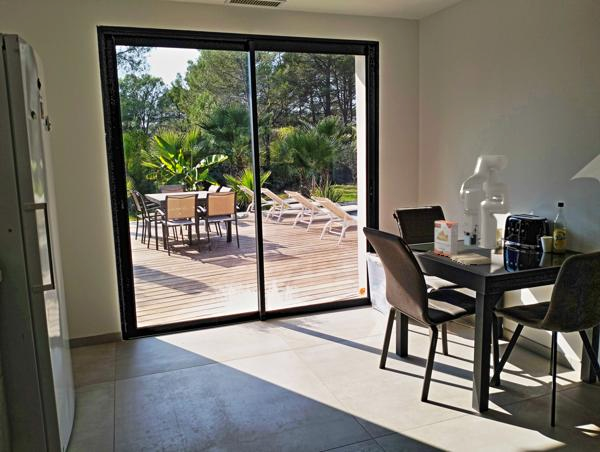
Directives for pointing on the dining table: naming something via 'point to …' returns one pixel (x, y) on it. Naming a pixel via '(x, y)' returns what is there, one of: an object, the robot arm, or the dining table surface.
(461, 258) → the birch base
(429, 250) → the dining table surface
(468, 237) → the slate block
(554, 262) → the dining table surface
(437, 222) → the cracker box
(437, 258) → the dining table surface
